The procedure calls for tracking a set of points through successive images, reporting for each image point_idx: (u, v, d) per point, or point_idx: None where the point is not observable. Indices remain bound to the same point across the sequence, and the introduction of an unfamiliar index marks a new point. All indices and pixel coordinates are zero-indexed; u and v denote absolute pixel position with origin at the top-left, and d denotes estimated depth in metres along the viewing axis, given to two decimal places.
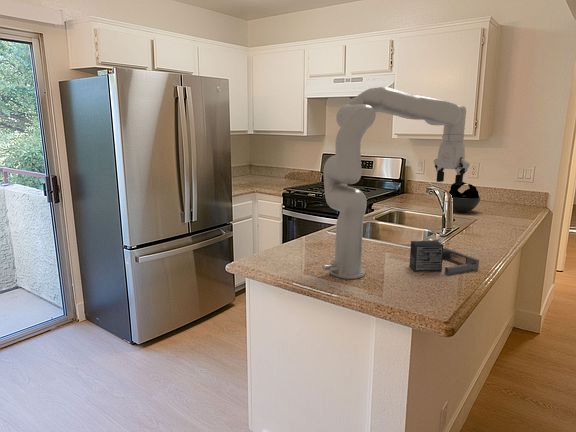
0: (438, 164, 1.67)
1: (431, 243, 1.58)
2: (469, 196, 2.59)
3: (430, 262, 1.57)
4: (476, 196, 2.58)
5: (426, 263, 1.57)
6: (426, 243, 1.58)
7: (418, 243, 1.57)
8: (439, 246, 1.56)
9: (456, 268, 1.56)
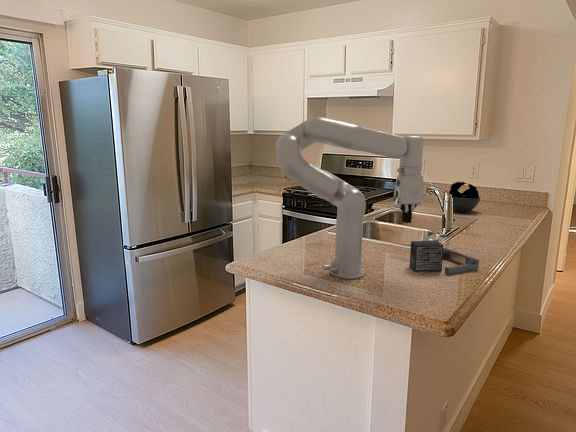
0: (404, 201, 1.47)
1: (431, 243, 1.58)
2: (469, 196, 2.59)
3: (430, 262, 1.57)
4: (476, 196, 2.58)
5: (426, 263, 1.57)
6: (426, 243, 1.58)
7: (418, 243, 1.58)
8: (439, 246, 1.56)
9: (456, 268, 1.56)
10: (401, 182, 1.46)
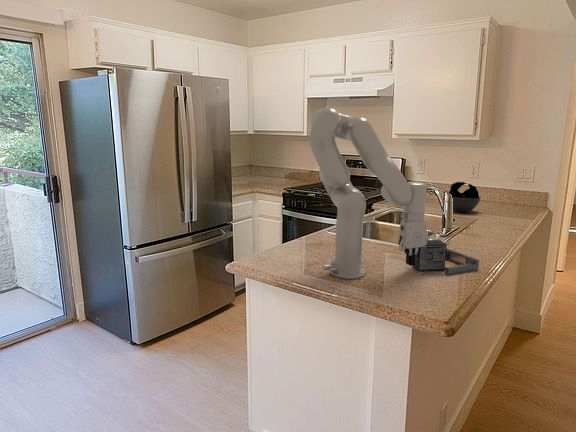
0: (408, 246, 1.52)
1: (434, 242, 1.58)
2: (469, 196, 2.59)
3: (434, 261, 1.58)
4: (476, 196, 2.58)
5: (430, 262, 1.58)
6: (430, 242, 1.58)
7: None
8: (442, 245, 1.57)
9: (456, 268, 1.56)
10: (405, 227, 1.51)
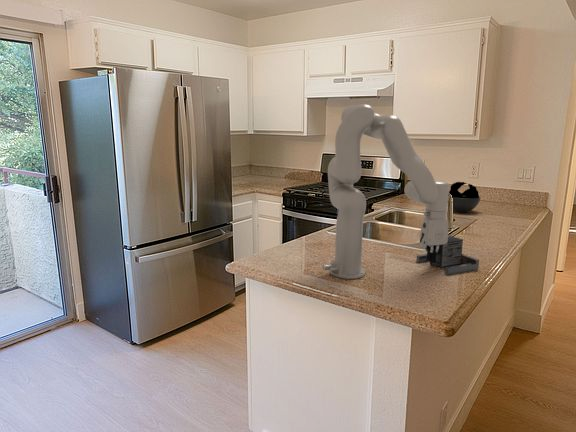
0: (430, 243, 1.56)
1: (452, 239, 1.63)
2: (469, 196, 2.59)
3: (453, 257, 1.63)
4: (476, 196, 2.58)
5: (450, 258, 1.62)
6: (448, 239, 1.63)
7: None
8: (460, 241, 1.63)
9: (456, 268, 1.56)
10: (427, 225, 1.55)
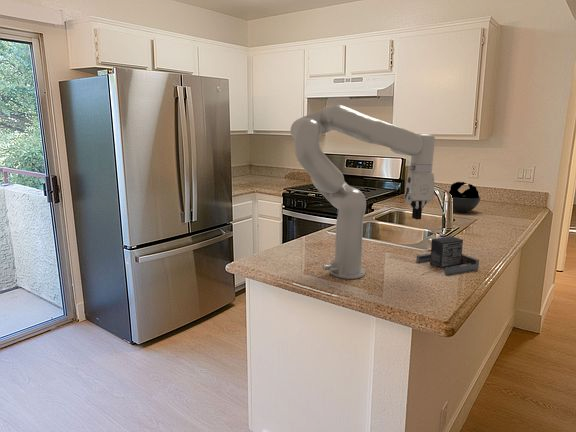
0: (415, 198, 1.51)
1: (452, 239, 1.63)
2: (469, 196, 2.59)
3: (453, 257, 1.63)
4: (476, 196, 2.58)
5: (450, 258, 1.62)
6: (448, 239, 1.63)
7: (442, 240, 1.62)
8: (460, 241, 1.63)
9: (456, 268, 1.56)
10: (412, 179, 1.50)
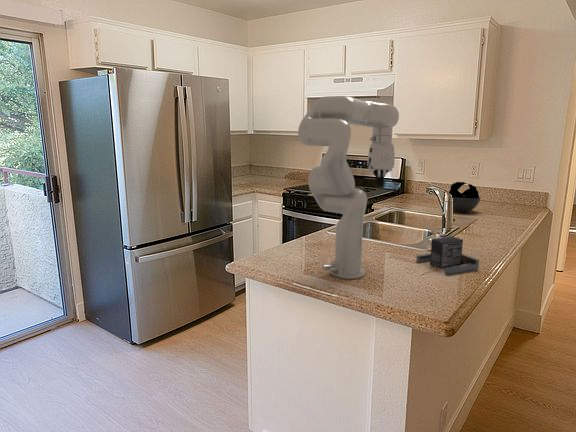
0: (376, 166, 1.65)
1: (452, 239, 1.63)
2: (469, 196, 2.59)
3: (453, 257, 1.63)
4: (476, 196, 2.58)
5: (450, 258, 1.62)
6: (448, 239, 1.63)
7: (442, 240, 1.62)
8: (460, 241, 1.63)
9: (456, 268, 1.56)
10: (373, 149, 1.64)
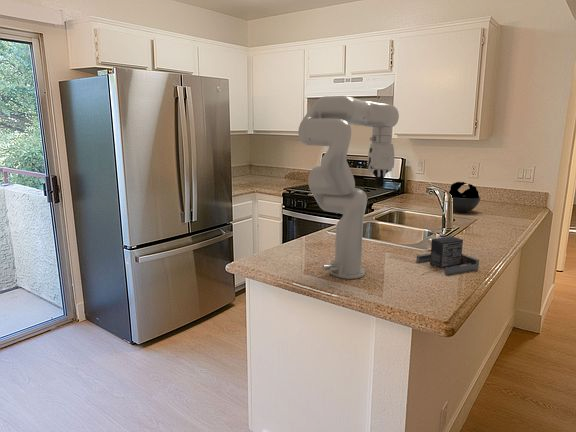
0: (376, 166, 1.65)
1: (452, 239, 1.63)
2: (469, 196, 2.59)
3: (453, 257, 1.63)
4: (476, 196, 2.58)
5: (450, 258, 1.62)
6: (448, 239, 1.63)
7: (442, 240, 1.62)
8: (460, 241, 1.63)
9: (456, 268, 1.56)
10: (373, 149, 1.64)
